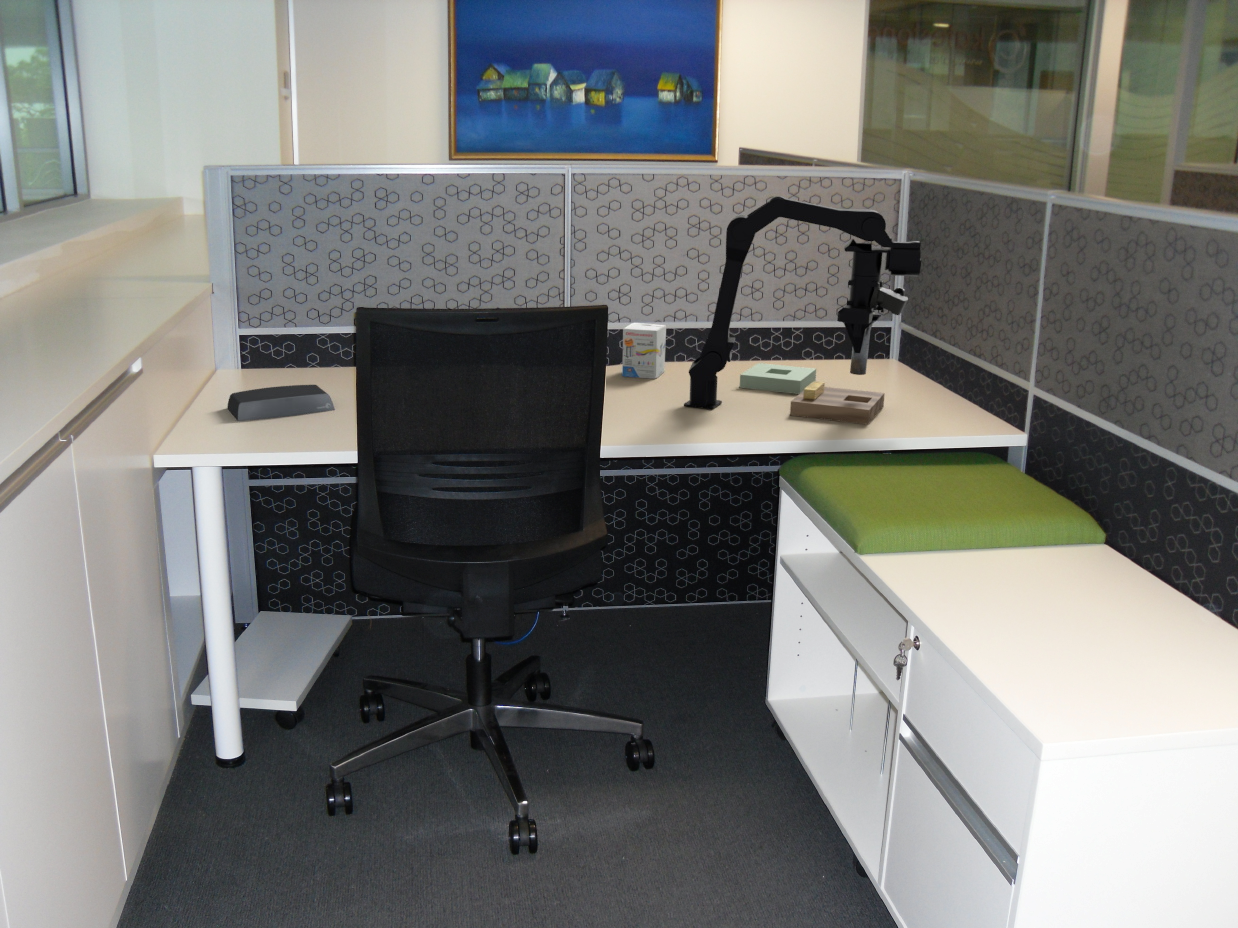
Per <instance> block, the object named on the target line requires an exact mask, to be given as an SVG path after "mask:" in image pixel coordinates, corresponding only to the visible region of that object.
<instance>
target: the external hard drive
mask: <svg viewBox="0 0 1238 928" xmlns="http://www.w3.org/2000/svg"><path fill="white" fill-rule="evenodd" d="M226 408H227V410H228V411H229V412H230V413H231V415H232V416H233V417H234V418H235V419H236V421H237V422H245V421H256V420H266V419H267V420H268V419H276V418H285V417H293V416H301V415H302V416H303V415H304V416H305V415H310V414H316V413H324V412H331V411H335V410H336V409H335V406H334V402H333V400H332V397H331V395H330V394H329V393H327V391H325V390H323V389H322V388H321V387H320V386H319V385H317V384H294V385H293V384H292V385H281V386H271V387H262V388H256V389H255V388H254V389H248V390H243V391H236V392H233V393H231V394H230V395H229V398H228V402H227V407H226Z"/></svg>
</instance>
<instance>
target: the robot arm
mask: <svg viewBox="0 0 1238 928" xmlns="http://www.w3.org/2000/svg"><path fill="white" fill-rule="evenodd" d="M778 218H784V219H787V220H793V221H798V222H803V223H808V224H813V225H817V226H822V227H826V228H827V227H828V228H832V229H837V230H839V231H840V232H843V233H846V234H848V235H850V236H852V237H855V238H858V239H860V240H863V241H865V242H857V241H856V240H855V239H854V238H851V239H850V241H849V242H848V243H847V244H846V245H845V246H843V250H844V251H845V252H846V253H848V252H849V253H850V252H851V253H852V261H851V263H852V264H851V273H850V274H851V276H850V279H848V284H847V285H848V286H849V287H850V289H849V299H848V300H846V305H845V306H843V307H841V309H839V310H838V312H837V322H838V323H843V325H844V327H845V329H846V332H847V335H848V338H849V341H850V344H851V346H852V347H853V349H854V352H855V353H860V352H861V349H862V345H863V341H864V338H865V334H866V330H867V328H868V327H869V326H870V325H871V329H870V331H872V326H873V325H874V324H875V322H877V321H878V320H879V319H880V318H882V316H883V315H881V314H876V313H875V312H876V311H880V312H881V313H886V312H887V311H888V312H890V313H891V314H893V315H896V316H900V315H901V314H903V311H904V309H905V307H906V305H907V303H908V301H909V298H908V296H906V289H904V288H903V287H900V286H897V287H896V288H895V289H894V290H892V289H891V288H890V289H888V288H886V287H884V281H883V279H882V278H881V273H882V262H883V254H885V255H884V262H883V263H884V264H883V266H884V268H883V269H884V271H888V275H889V276H897V277H898V276H899V277H900V276H901V277H919V276H920V273H921V268H922V259H921V256H922V255H921V253H922V251H921V250H922V249H921V248H922V247H921V245H922V243H921V242H920V241H919V240H912V241H893V238H892V236H890V235H889V234H888V233H887V231H886V229H887V223H886V220H885V218H884V216H883V215H882V214H881V213H880V212H879V211H877V210H874V209H867V208H866V209H860V208H859V209H857V208H855V209H854V208H851V209H850V208H849V209H847V208H845V209H841V208H835V207H831V206H825V205H820V204H815V203H810V202H806V201H801V200H796V199H791V198H787V197H784V196H782V195H775V196H773V197H771V198H770V199H769V200H768V201H766V203H763V204H762V205H761V206H759V207H758V208H756V209H755V210H753V211H751V212H750V213H749V214H747V215H746V214H745V215H744V214H740V215H736V216H735V217H733V218H732V219H731V220H730V222H729V223H728V225H727V227H726V232H725V233H726V235H725V236H726V237H725V264H724V269H723V273H722V276H721V277H722V278H721V282H720V286H719V287H720V288H719V292H718V296H717V301H716V304H715V310H714V314H713V320H712V323H711V327H710V330H709V332H708V335H707V337H706V340H705V343H704V344H703V347H702V350H701V352H700V354H699V356H698V357H697V358H696V359H694V360H693V362H692V363H691V365H690V368H689V370H688V374H689V400H687V401H685V402H684V403H683V406H684V407H688V408H689V407H690V408H699V409H705V410H706V409H707V410H714V409H715V408H716V407H718V406H719V405H721V404H722V403H723V401H722V400H719V399H717V398H718V397H717V395H718V376H717V374H718V373H719V372H722V371H723V370H724V369H725V367H726V365H727V362H728V363H730V362H731V359H732V357H733V352H732V349H733V347H734V345H735V341H736V337H730V325H731V321H732V317H733V311H734V308H735V304H736V303H735V302H736V299H737V294H738V291H739V286H740V281H741V278H742V271H743V266H744V264H745V261H746V258H747V256H748V253H749V251H750V248H751V246H752V243H753V241H754V238H755V237H756V233H758V232H760V231H761V230H763V229H764V228H765V227H767V226H768V225H770V224H771V223H773V222H774V221H776V220H777V219H778ZM869 242H870V243H869ZM871 242H874V243H876V244H878V245H879V246H880V248H879V247H877V248H875V247H873V245H872V243H871ZM881 247H882V248H881Z"/></svg>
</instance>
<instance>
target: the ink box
mask: <svg viewBox="0 0 1238 928" xmlns="http://www.w3.org/2000/svg"><path fill="white" fill-rule="evenodd" d="M666 338H667V325H666V324H653V323H646V322H645V323H643V322H632V323H630V324H628V325H627V326H625V327H623V328H622V371H621V372H622V374H621V375H622V377H623V378H624V377H626V378H640V379H651V380H653V379H654V380H656V379H658V377H660V376H662V374H663V373H664V372H665V368H666V366H665V365H666V363H665V362H666Z"/></svg>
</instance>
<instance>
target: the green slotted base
mask: <svg viewBox="0 0 1238 928" xmlns="http://www.w3.org/2000/svg"><path fill="white" fill-rule="evenodd" d="M816 376H817V368H813V367H802V366H792V365H783V364H773V363H762V362H758V363H756V364H754V365H753V366H751V367H750V368H748V369H746V370H745V371H743V372H742V373H741V374H739V388H741V389H742V388H743V389H750V390H759V391H769V392H777V393H787V394H795V395H797V394H798V395H799V394H800V393H801V392H803V391H804V389H805V388H806V387H807V386H808V385H809V384H811V383H812V382H813V381H816V382H817V380H816V378H817V377H816Z"/></svg>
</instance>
